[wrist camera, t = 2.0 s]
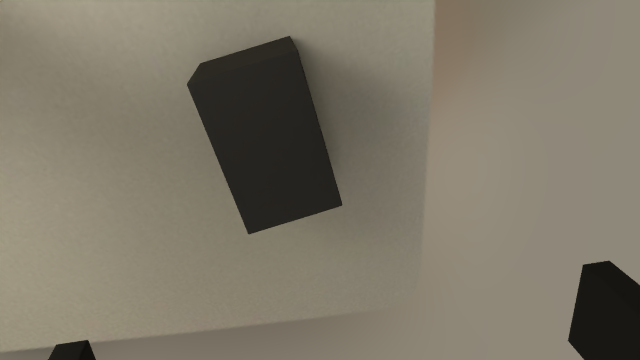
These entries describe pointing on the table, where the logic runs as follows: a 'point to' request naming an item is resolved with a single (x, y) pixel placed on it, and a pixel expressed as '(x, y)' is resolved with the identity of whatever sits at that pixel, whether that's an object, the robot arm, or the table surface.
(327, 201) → the black box
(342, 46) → the table surface
